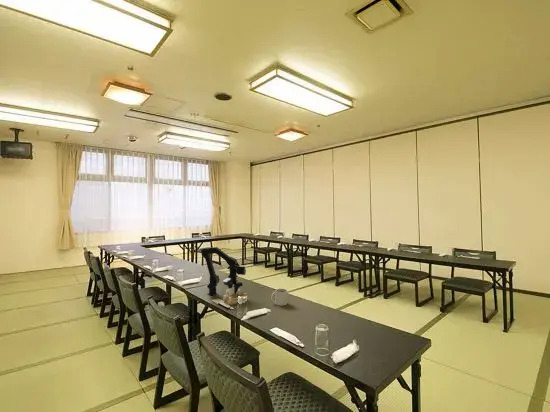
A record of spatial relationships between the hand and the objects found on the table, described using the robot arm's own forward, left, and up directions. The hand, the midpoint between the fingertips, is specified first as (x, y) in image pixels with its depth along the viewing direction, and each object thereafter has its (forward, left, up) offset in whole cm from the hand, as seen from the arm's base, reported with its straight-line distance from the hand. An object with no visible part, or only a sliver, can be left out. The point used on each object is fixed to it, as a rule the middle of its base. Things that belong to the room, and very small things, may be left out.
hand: (233, 293), depth 225 cm
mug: (+40, +14, -2) cm, 42 cm away
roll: (0, 0, +2) cm, 2 cm away
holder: (+11, -6, -2) cm, 13 cm away
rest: (0, 0, -2) cm, 2 cm away
